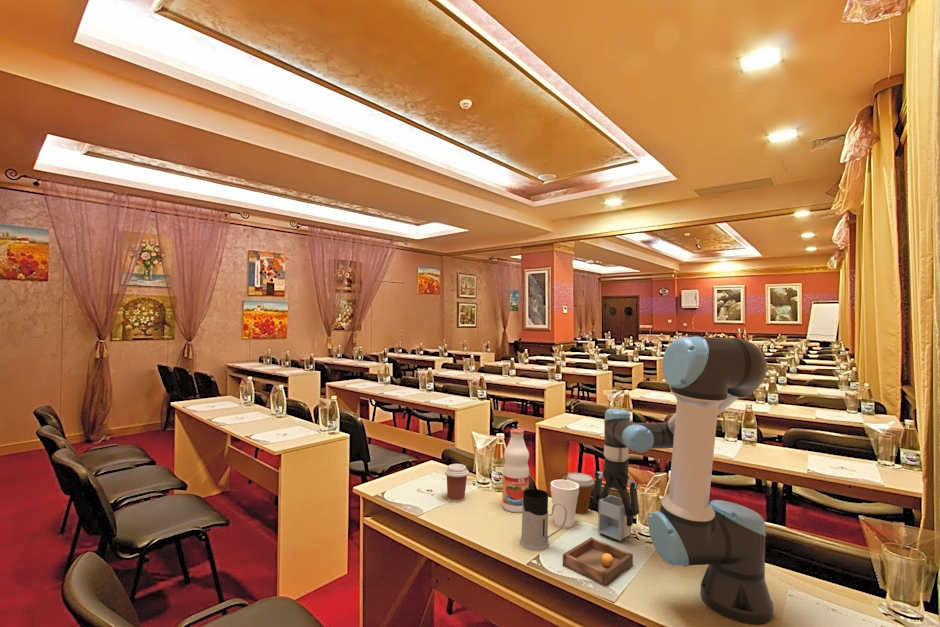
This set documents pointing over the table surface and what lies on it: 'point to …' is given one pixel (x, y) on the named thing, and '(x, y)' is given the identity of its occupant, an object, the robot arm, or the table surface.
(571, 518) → the foam cup
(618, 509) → the grey frame
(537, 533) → the grey mug
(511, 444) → the fruit juice
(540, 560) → the table surface
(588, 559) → the tray
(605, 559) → the ball
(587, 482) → the disposable coffee cup
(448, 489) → the coffee cup
